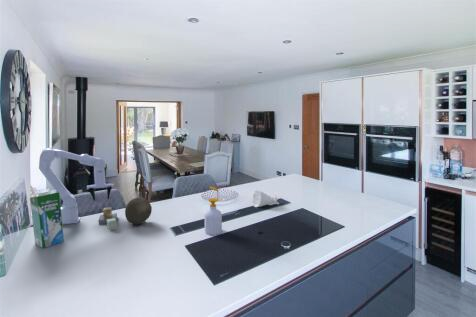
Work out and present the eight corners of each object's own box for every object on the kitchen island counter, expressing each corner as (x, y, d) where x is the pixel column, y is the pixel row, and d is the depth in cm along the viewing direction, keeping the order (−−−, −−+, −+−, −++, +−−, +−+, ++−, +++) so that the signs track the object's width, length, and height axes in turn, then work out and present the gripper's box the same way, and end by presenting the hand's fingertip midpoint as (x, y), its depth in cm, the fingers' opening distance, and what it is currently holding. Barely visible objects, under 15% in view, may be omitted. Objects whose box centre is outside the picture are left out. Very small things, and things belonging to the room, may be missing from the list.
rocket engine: (280, 189, 193) (258, 186, 186) (284, 203, 186) (262, 201, 178) (272, 198, 201) (251, 196, 193) (276, 212, 193) (254, 210, 186)
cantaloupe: (127, 230, 146) (125, 203, 144) (124, 221, 158) (123, 196, 156) (154, 225, 152) (153, 200, 150) (149, 217, 165) (148, 193, 162)
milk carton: (55, 236, 138) (50, 189, 134) (64, 241, 133) (59, 191, 129) (34, 243, 131) (29, 193, 127) (42, 248, 126) (37, 196, 122)
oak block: (103, 218, 156) (103, 210, 156) (104, 216, 160) (103, 207, 159) (111, 217, 158) (110, 209, 157) (111, 215, 162) (111, 207, 161)
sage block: (109, 230, 146) (108, 221, 145) (107, 228, 149) (106, 219, 148) (116, 228, 148) (116, 220, 148) (114, 226, 151) (114, 218, 151)
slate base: (98, 224, 154) (98, 220, 154) (100, 219, 162) (100, 215, 162) (116, 222, 157) (115, 218, 157) (117, 217, 165) (116, 213, 165)
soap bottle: (204, 228, 149) (204, 185, 145) (221, 228, 150) (221, 184, 146) (204, 235, 140) (203, 189, 136) (222, 235, 141) (221, 189, 137)
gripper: (85, 180, 158) (87, 202, 160) (112, 178, 163) (113, 200, 165) (87, 177, 164) (88, 199, 166) (113, 175, 169) (114, 196, 171)
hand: (101, 199), depth 166 cm, fingers open, 7 cm apart
